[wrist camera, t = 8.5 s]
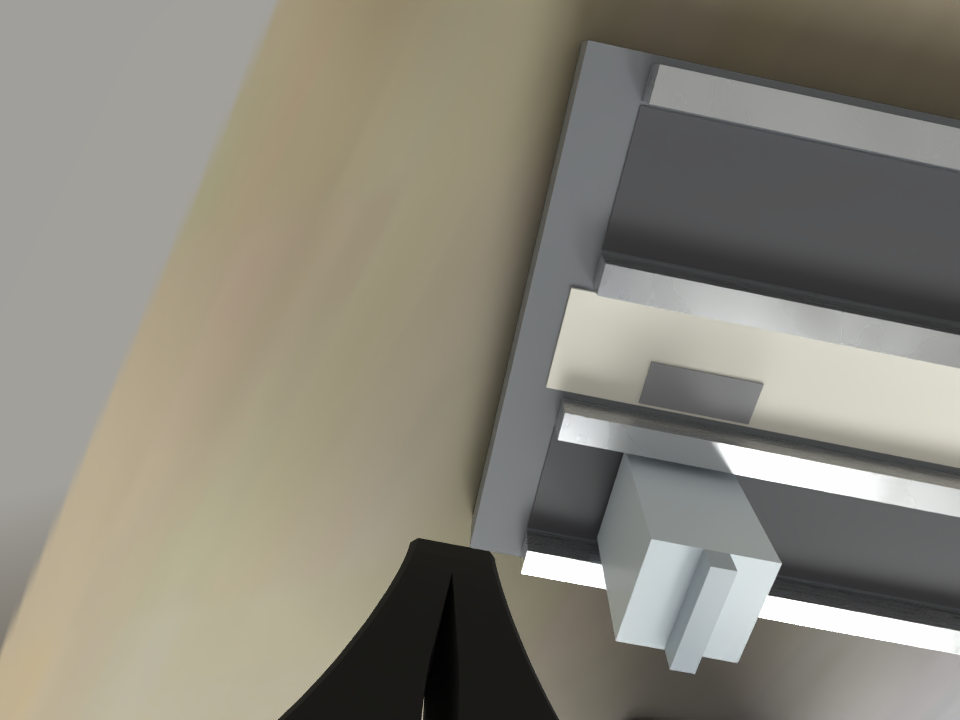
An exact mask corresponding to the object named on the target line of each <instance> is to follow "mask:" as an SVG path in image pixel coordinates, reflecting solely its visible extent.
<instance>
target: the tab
mask: <svg viewBox="0 0 960 720" xmlns="http://www.w3.org/2000/svg"><path fill="white" fill-rule="evenodd" d="M597 541H598V546H599V552H600V557H601V563H602V568H603V574H604V579H605V585H606V591H607V596H608V602H609V607H610V613H611V618H612V624H613V629H614V635H615V641H619V642H624V643H630V644H635V645H641V646H646V647H652V648H657V649H663V650H665V653H666V657H667V661H668V665H669V669H670V670H675V671H681V672H686V673H692V674H695V673H696V670H697V668H698V666H699V663H700V661H701V658H702V657H707V658H712V659H718V660H723V661H729V662H734V663H738V661H739V659H740V657H741V654H742V652H743V650H744V648H745V645H746V643H747V641H748V639H749V637H750V634H751V632H752V630H753V628H754V625H755V623H756V621H757V619H758V616H759V614H760V612H761V610H762V607H763V605H764V603H765V601H766V598H767V596H768V594H769V592H770V589H771V587H772V585H773V583H774V580H775V578H776V576H777V574H778V571H779V569H780V567H781V565H782V563H781V561H780V559H779V557H778V555H777V553H776V552H775V550H774V548H773V546H772V544H771V542H770V540H769V538H768V537H767V535H766V533H765V531H764V529H763V527H762V525H761V523H760V522H759V520H758V518H757V516H756V514H755V512H754V510H753V509H752V507H751V505H750V503H749V501H748V499H747V497H746V495H745V494H744V492H743V490H742V488H741V486H740V484H739V482H738V481H737V479H736V477H735V475H734V474H732V473H727V472H722V471H716V470H711V469H706V468H701V467H696V466H690V465H685V464H680V463H675V462H670V461H664V460H659V459H654V458H649V457H644V456H638V455H633V454H628V453H624V454H623V457H622V460H621V463H620V467H619V470H618V473H617V476H616V479H615V482H614V486H613V489H612V492H611V495H610V498H609V501H608V505H607V508H606V511H605V514H604V517H603V520H602V524H601V527H600V530H599V533H598V536H597Z"/></svg>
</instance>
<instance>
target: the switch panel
mask: <svg viewBox="0 0 960 720" xmlns="http://www.w3.org/2000/svg"><path fill="white" fill-rule="evenodd" d="M624 453H628V454H633V455H638V456H644V457H649V458H654V459H659V460H664V461H670V462H675V463H680V464H685V465H690V466H696V467H701V468H706V469H711V470H716V471H722V472H727V473H732V474H734V475H735V477H736V479H737V481H738V482H739V484H740V486H741V488H742V490H743V492H744V494H745V495H746V497H747V499H748V501H749V503H750V505H751V507H752V509H753V510H754V512H755V514H756V516H757V518H758V520H759V522H760V523H761V525H762V527H763V529H764V531H765V533H766V535H767V537H768V538H769V540H770V542H771V544H772V546H773V548H774V550H775V552H776V553H777V555H778V557H779V559H780V561H781V563H782V565H781V567H780V569H779V571H778V574H777V576H776V578H775V580H774V583H773V585H772V587H771V589H770V592H769V594H768V596H767V598H766V601H765V603H764V605H763V607H762V610H761V612H760V614H759V616H758V617H759V618H765V619H770V620H775V621H781V622H786V623H792V624H797V625H803V626H808V627H813V628H819V629H824V630H830V631H835V632H840V633H846V634H851V635H857V636H862V637H868V638H873V639H878V640H884V641H889V642H895V643H900V644H906V645H911V646H916V647H922V648H927V649H933V650H938V651H943V652H949V653H954V654H960V120H957V119H952V118H948V117H943V116H938V115H934V114H929V113H924V112H920V111H915V110H911V109H906V108H901V107H897V106H892V105H887V104H883V103H878V102H873V101H869V100H864V99H859V98H855V97H850V96H845V95H841V94H836V93H832V92H827V91H822V90H818V89H813V88H808V87H804V86H799V85H794V84H790V83H785V82H780V81H776V80H771V79H767V78H762V77H757V76H753V75H748V74H743V73H739V72H734V71H729V70H725V69H720V68H715V67H711V66H706V65H702V64H697V63H692V62H688V61H683V60H678V59H674V58H669V57H664V56H660V55H655V54H650V53H646V52H641V51H636V50H632V49H627V48H623V47H618V46H613V45H609V44H604V43H599V42H595V41H590V40H586V41H582V44H581V48H580V52H579V57H578V61H577V65H576V70H575V74H574V79H573V83H572V87H571V92H570V96H569V100H568V105H567V109H566V113H565V118H564V122H563V126H562V131H561V135H560V139H559V144H558V148H557V152H556V157H555V161H554V165H553V170H552V174H551V178H550V183H549V187H548V191H547V196H546V200H545V204H544V209H543V213H542V217H541V222H540V226H539V230H538V235H537V239H536V243H535V248H534V252H533V256H532V261H531V265H530V269H529V274H528V278H527V282H526V287H525V291H524V296H523V300H522V304H521V309H520V313H519V317H518V322H517V326H516V330H515V335H514V339H513V343H512V348H511V352H510V356H509V361H508V365H507V369H506V374H505V378H504V382H503V387H502V391H501V395H500V400H499V404H498V408H497V413H496V417H495V421H494V426H493V430H492V434H491V439H490V443H489V447H488V452H487V456H486V460H485V465H484V469H483V473H482V478H481V482H480V486H479V491H478V495H477V499H476V504H475V508H474V513H473V517H472V527H471V540H470V548H475V549H480V550H486V551H491V552H497V553H502V554H507V555H513V556H518V557H521V574H526V575H532V576H537V577H543V578H548V579H553V580H559V581H564V582H570V583H575V584H580V585H586V586H591V587H597V588H602V589H606V585H605V579H604V574H603V568H602V563H601V557H600V552H599V546H598V541H597V536H598V533H599V530H600V527H601V524H602V520H603V517H604V514H605V511H606V508H607V505H608V501H609V498H610V495H611V492H612V489H613V486H614V482H615V479H616V476H617V473H618V470H619V467H620V463H621V460H622V457H623V454H624Z"/></svg>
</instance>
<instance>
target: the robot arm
mask: <svg viewBox="0 0 960 720" xmlns="http://www.w3.org/2000/svg"><path fill="white" fill-rule="evenodd" d="M423 699H424V712H423V720H559V719H558V717H557V715H556V713H555V711H554V710H553V708H552V706H551V704H550V702H549V700H548V698H547V696H546V694H545V692H544V690H543V688H542V686H541V684H540V682H539V680H538V678H537V676H536V673H535V671H534V669H533V667H532V665H531V662H530V660H529V658H528V656H527V653H526V651H525V649H524V646H523V644H522V641H521V639H520V636H519V634H518V631H517V629H516V627H515V624H514V621H513V619H512V616H511V613H510V610H509V608H508V605H507V602H506V599H505V596H504V593H503V589H502V586H501V583H500V579H499V576H498V572H497V568H496V563H495V558H494V557H493V555H492V554H491V553H490V551H485V550H480V549H474V548H469V547H464V546H458V545H453V544H447V543H442V542H437V541H431V540H426V539H421V538H418V539H416V540H414V541H412V542H410V545H409V549H408V552H407V554H406V556H405V559H404V561H403V563H402V565H401V567H400V569H399V571H398V573H397V574H396V576H395V578H394V579H393V581H392V583H391V585H390V586H389V588H388V590H387V591H386V593H385V594H384V596H383V597H382V599H381V600H380V601H379V603H378V604H377V606H376V607H375V609H374V610H373V612H372V613H371V615H370V616H369V618H368V619H367V620H366V622H365V623H364V625H363V626H362V627H361V628H360V630H359V631H358V632H357V633H356V635H355V636H354V637H353V639H352V640H351V641H350V642H349V644H348V645H347V646H346V647H345V649H344V650H343V651H342V652H341V654H340V655H339V656H338V657H337V659H336V660H335V661H334V662H333V663H332V664H331V665H330V667H329V668H328V669H327V670H326V671H325V672H324V673H323V674H322V676H321V677H320V678H319V679H318V680H317V681H316V682H315V683H314V684H313V685H312V686H311V687H310V688H309V689H308V691H307V692H306V693H305V694H304V695H303V696H302V697H301V698H300V699H299V700H298V701H297V702H296V703H295V704H294V705H293V706H292V707H291V708H290V709H288V710H287V711H286V712H285V713H284V714H283V715H282V716H281V717H280V718H279V719H278V720H421V717H422V708H423Z"/></svg>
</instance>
